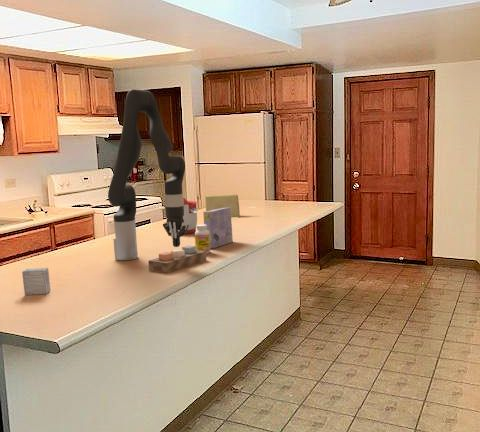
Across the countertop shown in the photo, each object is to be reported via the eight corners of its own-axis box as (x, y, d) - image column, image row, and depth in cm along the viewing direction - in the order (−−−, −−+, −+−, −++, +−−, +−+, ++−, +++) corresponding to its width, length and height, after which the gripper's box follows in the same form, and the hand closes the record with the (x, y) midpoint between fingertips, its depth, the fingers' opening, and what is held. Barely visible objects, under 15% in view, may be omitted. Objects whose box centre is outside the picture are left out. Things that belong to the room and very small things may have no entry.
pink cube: (166, 264, 216) (165, 254, 215) (159, 263, 218) (158, 254, 218) (173, 262, 219) (172, 252, 219) (166, 261, 222) (165, 252, 221)
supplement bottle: (197, 255, 243) (195, 226, 241) (194, 252, 249) (192, 224, 247) (211, 253, 245) (210, 225, 243) (208, 250, 251) (207, 223, 249)
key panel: (166, 273, 212) (166, 263, 212) (149, 270, 218) (148, 260, 218) (206, 260, 231) (205, 251, 231) (188, 258, 237) (188, 249, 237)
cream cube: (178, 261, 222) (177, 251, 221) (171, 260, 224) (170, 251, 223) (185, 259, 225) (184, 250, 224) (177, 258, 227) (177, 249, 227)
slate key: (189, 257, 227) (189, 248, 227) (182, 256, 230) (182, 247, 229) (196, 255, 230) (195, 246, 230) (189, 254, 233) (188, 245, 232)
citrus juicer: (187, 236, 291) (185, 199, 288) (164, 233, 302) (162, 198, 299) (206, 231, 303) (204, 196, 301) (184, 229, 314) (181, 195, 311)
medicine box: (51, 290, 195) (48, 267, 193) (47, 294, 190) (44, 270, 189) (28, 292, 194) (26, 268, 193) (24, 295, 190) (21, 271, 189)
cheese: (242, 216, 355) (241, 193, 353) (236, 218, 347) (235, 195, 344) (212, 215, 364) (211, 193, 362) (205, 218, 355) (204, 195, 353)
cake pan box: (226, 241, 273) (224, 206, 270) (234, 241, 270) (232, 206, 268) (204, 248, 257) (202, 211, 254) (213, 249, 254) (211, 212, 251)
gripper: (192, 204, 220) (194, 246, 223) (169, 203, 228) (171, 243, 231) (180, 207, 214) (182, 249, 217) (156, 205, 222) (158, 246, 225)
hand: (176, 246), depth 224 cm, fingers closed
